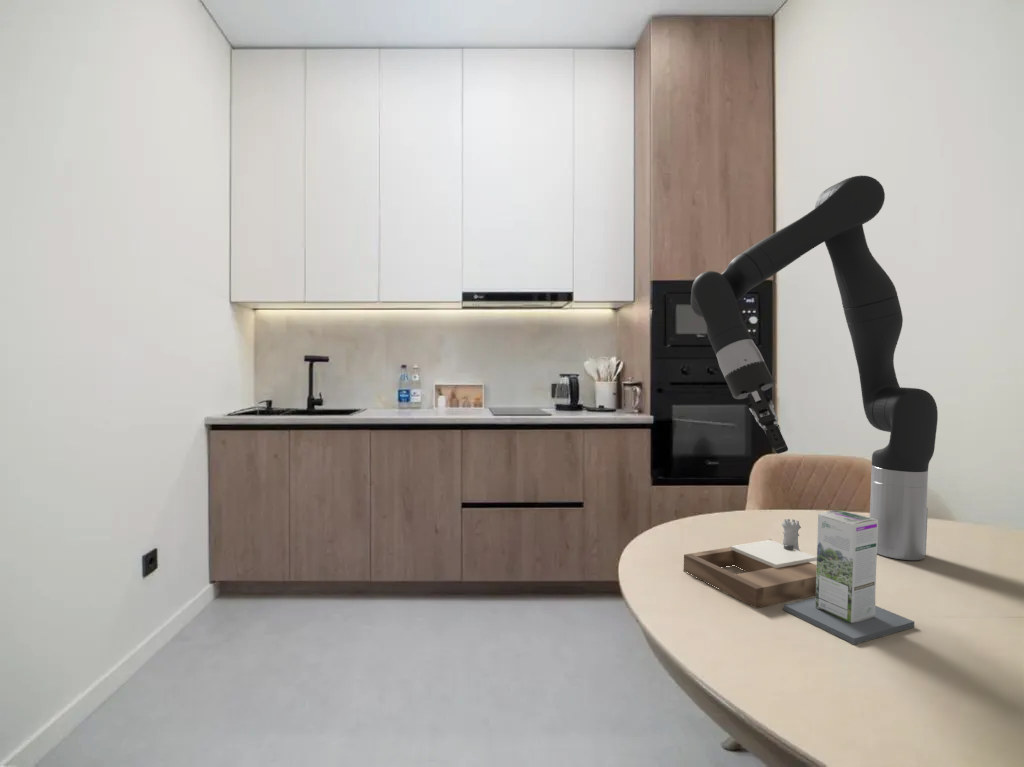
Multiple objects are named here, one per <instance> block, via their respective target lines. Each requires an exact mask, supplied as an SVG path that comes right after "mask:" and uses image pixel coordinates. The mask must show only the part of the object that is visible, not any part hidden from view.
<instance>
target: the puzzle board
mask: <svg viewBox="0 0 1024 767" xmlns="http://www.w3.org/2000/svg"><path fill="white" fill-rule="evenodd" d="M732 565H735V566H737V567H739V568H741V569H743V570H742V571H744V570H745V571H744V572H742V573H734V572H731V571H729V570H727V569H726V568H727V567H726V566H732ZM735 566H734V567H735ZM721 567H726V568H721ZM732 567H733V566H732ZM737 567H736V568H737ZM739 568H738V569H739ZM741 569H740V570H741ZM816 570H817V564H815V563H813V562H806V563H801V564H796V565H790V566H785V567H780V568H774V567H772V566H769V565H767V564H765V563H762V562H760V561H757V560H755V559H753V558H750V557H748V556H745V555H743V554H740V553H738V552H736V551H733V550H731V549H730V546H729V547H723V548H715V549H710V550H704V551H698V552H693V553H686V554H684V555H683V572H684V571H686V572H688V573H689V575H690V574H692V575H693V577H694V576H695V577H694V578H696V577H697V578H696V579H698V578H699V579H698V580H700V579H701V581H702V580H703V581H702V582H704V581H705V582H704V583H706V582H707V583H706V584H708V583H709V584H708V585H710V584H711V585H710V586H712V585H713V586H712V587H714V586H715V587H717V588H719V589H720V590H719V589H718V590H719V591H721V590H722V591H721V592H723V591H724V592H723V593H725V592H726V593H725V594H727V593H728V594H727V595H730V596H731V595H732V596H731V597H734V598H736V599H737V600H739V601H740V602H743V603H745V604H747V605H748V606H751V607H752V608H754V609H757V608H758V609H759V608H762V607H763V608H764V607H767V606H771V605H777V604H782V603H786V602H788V601H789V602H790V601H794V600H798V599H803V598H807V597H812V596H816ZM746 571H747V572H746ZM686 572H685V573H686ZM688 573H687V574H688ZM692 575H691V576H692ZM715 587H714V588H715ZM717 588H716V589H717Z"/></svg>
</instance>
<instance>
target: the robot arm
mask: <svg viewBox="0 0 1024 767" xmlns="http://www.w3.org/2000/svg"><path fill="white" fill-rule="evenodd" d="M885 195H886V194H885V189H884V186H883V185H882V184H881V182H880V181H878V179H876V178H874V177H872V176H870V175H856V176H851V177H848V178H846V179H843V180H841V181H840V182H837V183H835V184H834V185H832V186H830V187H828V188H826V189H825V190H823V191H822V192H821V193H820V194H819V196H818V197H817V200H816V202H815V206H814V208H813V209H812V210H811V211H810V212H808V213H806V214H805V215H803V216H802V217H800V218H799V219H797V220H795V221H794V222H791V223H790V224H788V225H787V226H785V227H783V228H781V229H779V230H777V231H776V232H774V233H772V234H770V235H768V236H766V237H765V238H763V239H762V240H759V241H758V242H757V243H755V244H754V245H753V244H752V245H751V246H750V247H748V248H747V249H746V250H744V251H742V252H741V253H740V254H738V255H736V256H735V257H734V258H733V259H732V260H731V261H730V262H729V263H728V265H727V267H726V268H725V269H724V271H722V272H721V273H720V272H718V271H713V270H709V271H705V272H702V273H700V274H699V275H697V277H695V279H694V281H693V282H692V286H691V291H690V292H691V294H690V306H691V309H692V311H693V313H694V314H696V315H697V316H699V317H700V318H703V320H704V321H705V324H706V333H707V338H708V341H709V342H710V345H711V347H712V350H713V351H714V354H715V356H716V358H717V362H718V366H719V369H720V371H721V373H722V375H723V377H724V379H725V382H726V384H727V386H728V388H729V391H730V393H731V396H732V397H733V398H734V399H735V400H744V399H746V398H747V399H749V403H747V407H748V409H749V411H750V413H751V415H753V416H754V419H755V421H756V423H757V424H758V425H759V426H760V427H761V429H763V431H764V433H765V435H766V437H767V439H768V441H769V443H770V446H771V448H772V449H773V451H775V453H776V454H778V455H780V454H783V453H786V452H788V450H789V448H788V445H787V443H786V440H785V438H784V436H783V434H782V433H781V427H780V425H779V424H778V423H779V422H778V421H779V418H778V415H777V413H776V411H775V409H774V408H775V405H774V403H773V401H772V399H771V397H770V395H769V396H768V395H767V396H765V394H764V392H765V391H767V390H769V389H771V388H772V387H773V386H774V384H775V381H774V378H773V376H772V374H771V373H770V370H769V368H768V366H767V364H766V361H765V360H764V357H763V355H762V353H761V352H760V349H759V348H758V346H757V345H756V343H755V342H754V340H753V338H752V336H751V333H750V332H749V329H748V328H747V326H746V323H745V322H744V320H743V318H742V316H741V312H740V309H739V305H738V303H737V302H738V301H740V299H742V298H743V297H744V296H745V295H746V294H747V293H748V292H749V291H751V290H752V289H753V288H755V287H757V286H758V285H761V284H762V283H763V282H764V281H766V280H768V279H770V278H771V277H773V276H774V275H776V274H777V273H778V272H780V271H782V270H783V269H785V268H786V267H788V266H789V265H790V264H792V263H793V262H795V261H796V260H798V259H799V258H801V257H802V256H803V255H805V254H806V253H808V252H810V251H811V250H813V249H815V248H816V247H818V246H819V245H821V244H823V243H824V244H825V246H826V250H827V252H828V255H829V258H830V261H831V264H832V268H833V271H834V276H835V280H836V284H837V287H838V290H839V295H840V299H841V305H842V309H843V312H844V313H843V314H844V317H845V322H846V325H847V328H848V331H849V334H850V337H851V341H852V346H853V350H854V352H853V353H854V355H855V359H856V360H855V361H856V365H857V369H858V376H859V383H860V389H861V390H860V392H861V398H862V405H863V409H864V413H865V414H864V415H865V417H866V419H867V421H868V423H869V424H870V425H871V426H872V427H873V428H875V429H876V430H878V431H883V432H888V433H890V435H889V442H888V444H886V446H885V447H883V448H881V449H876V450H874V451H873V452H872V454H871V474H870V475H871V477H870V501H869V517H870V518H874V519H877V520H878V543H877V555H881V556H883V557H887V558H891V559H896V560H897V559H898V560H904V561H921V560H923V559H925V555H927V538H928V537H927V536H928V519H929V518H928V516H929V515H928V514H929V511H928V510H929V508H928V507H927V506H928V505H927V504H928V503H927V502H928V484H929V482H928V479H929V465H930V462H931V459H932V458H933V456H934V453H935V448H936V447H935V446H936V437H937V436H936V435H937V428H938V420H939V419H938V418H939V417H938V414H939V413H938V412H939V411H938V406H937V402H936V400H935V398H934V397H933V395H932V394H931V393H930V392H929V391H926V389H925V390H924V389H922V388H918V387H917V388H916V387H901V386H900V384H899V381H898V378H897V374H896V370H895V364H894V362H895V361H894V358H895V352H896V348H897V345H898V341H899V340H900V335H901V334H902V333H901V332H902V328H903V320H904V319H903V317H904V316H903V312H902V308H901V303H900V300H899V295H898V292H897V289H896V286H895V284H894V282H893V281H892V279H891V277H890V276H889V275H888V274H887V272H886V271H885V270H884V268H883V267H882V266H881V265H880V263H879V262H878V261H877V260H876V258H875V257H874V256H873V254H872V253H871V250H870V248H869V246H868V242H867V239H866V235H865V230H864V226H863V225H864V224H867V223H868V222H870V221H871V220H873V219H874V218H875V217H876V216H877V215H878V214H879V213H880V211H881V210H882V208H883V206H884V203H885V199H886V198H885V197H886V196H885Z"/></svg>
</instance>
